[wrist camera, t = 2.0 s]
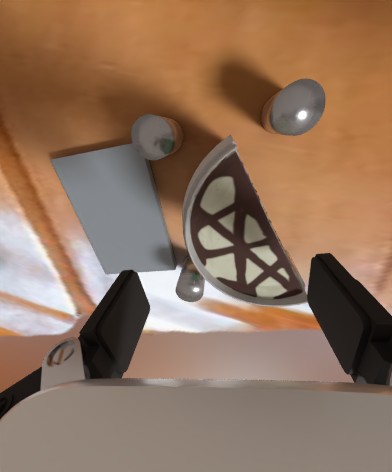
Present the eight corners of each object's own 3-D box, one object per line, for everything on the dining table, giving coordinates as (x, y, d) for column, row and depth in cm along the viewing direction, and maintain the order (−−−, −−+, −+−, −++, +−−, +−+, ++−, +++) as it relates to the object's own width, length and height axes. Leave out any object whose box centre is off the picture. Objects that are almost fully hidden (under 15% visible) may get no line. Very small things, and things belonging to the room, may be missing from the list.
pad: (143, 141, 19) (139, 141, 18) (176, 265, 26) (175, 269, 25) (57, 158, 21) (50, 159, 20) (109, 269, 28) (105, 274, 27)
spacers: (299, 88, 16) (328, 72, 11) (289, 267, 24) (303, 298, 20) (148, 121, 18) (125, 119, 14) (186, 273, 26) (178, 302, 22)
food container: (173, 167, 20) (134, 198, 11) (227, 132, 18) (231, 135, 9) (229, 257, 24) (231, 329, 16) (278, 237, 22) (313, 307, 13)
